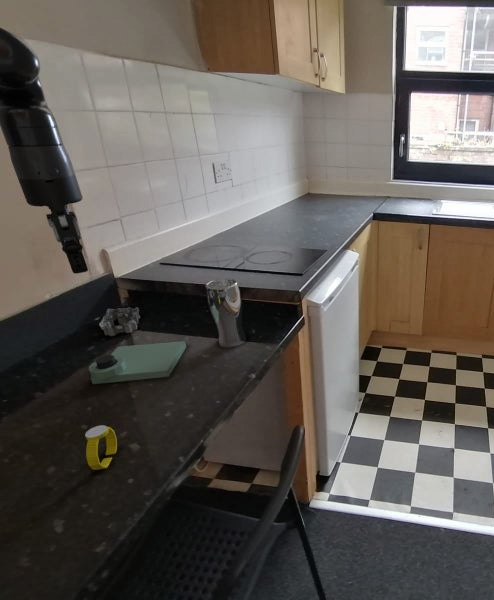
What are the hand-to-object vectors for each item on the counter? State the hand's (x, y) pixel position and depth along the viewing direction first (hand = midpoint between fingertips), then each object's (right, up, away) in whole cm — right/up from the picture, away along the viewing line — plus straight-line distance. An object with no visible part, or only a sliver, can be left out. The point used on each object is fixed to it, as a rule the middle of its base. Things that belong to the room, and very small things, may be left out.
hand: (78, 266), depth 74 cm
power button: (0, -19, +7) cm, 21 cm away
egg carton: (-12, -13, +29) cm, 34 cm away
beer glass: (+19, -16, +22) cm, 33 cm away
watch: (+14, -31, -11) cm, 36 cm away
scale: (+4, -20, +13) cm, 24 cm away
